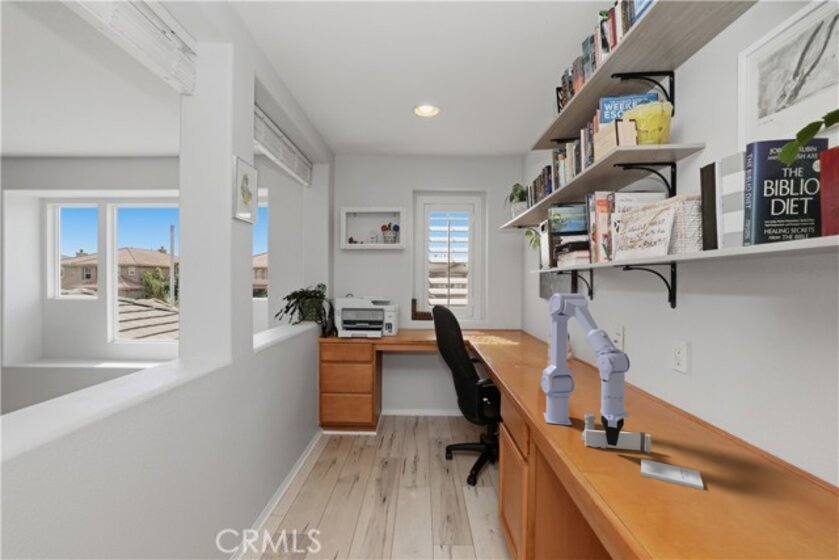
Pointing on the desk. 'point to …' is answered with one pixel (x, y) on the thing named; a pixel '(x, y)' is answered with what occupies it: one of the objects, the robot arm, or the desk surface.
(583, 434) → the rook chess piece
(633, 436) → the door
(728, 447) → the desk surface
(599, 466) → the desk surface
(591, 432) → the wall
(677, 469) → the external hard drive
